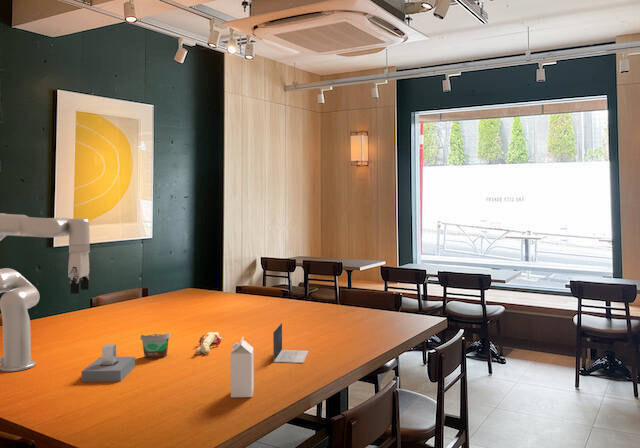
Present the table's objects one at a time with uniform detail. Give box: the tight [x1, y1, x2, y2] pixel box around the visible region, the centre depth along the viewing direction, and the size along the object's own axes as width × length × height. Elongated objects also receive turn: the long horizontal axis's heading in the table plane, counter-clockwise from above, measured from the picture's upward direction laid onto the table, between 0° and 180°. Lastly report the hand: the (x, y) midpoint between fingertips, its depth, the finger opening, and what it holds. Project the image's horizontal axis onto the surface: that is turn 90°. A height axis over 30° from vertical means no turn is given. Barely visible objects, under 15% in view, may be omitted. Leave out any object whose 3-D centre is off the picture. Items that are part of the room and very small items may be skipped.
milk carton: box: [229, 336, 255, 398], centre depth 179 cm, size 7×7×19 cm
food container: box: [140, 332, 171, 360], centre depth 223 cm, size 12×6×10 cm, turn 105°
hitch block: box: [81, 356, 136, 383], centre depth 201 cm, size 14×18×4 cm
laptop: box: [272, 322, 310, 364], centre depth 224 cm, size 18×12×13 cm
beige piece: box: [194, 331, 224, 356], centre depth 239 cm, size 10×9×25 cm
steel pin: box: [101, 343, 117, 366], centre depth 201 cm, size 4×4×11 cm
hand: (80, 291), depth 210 cm, fingers open, 9 cm apart
